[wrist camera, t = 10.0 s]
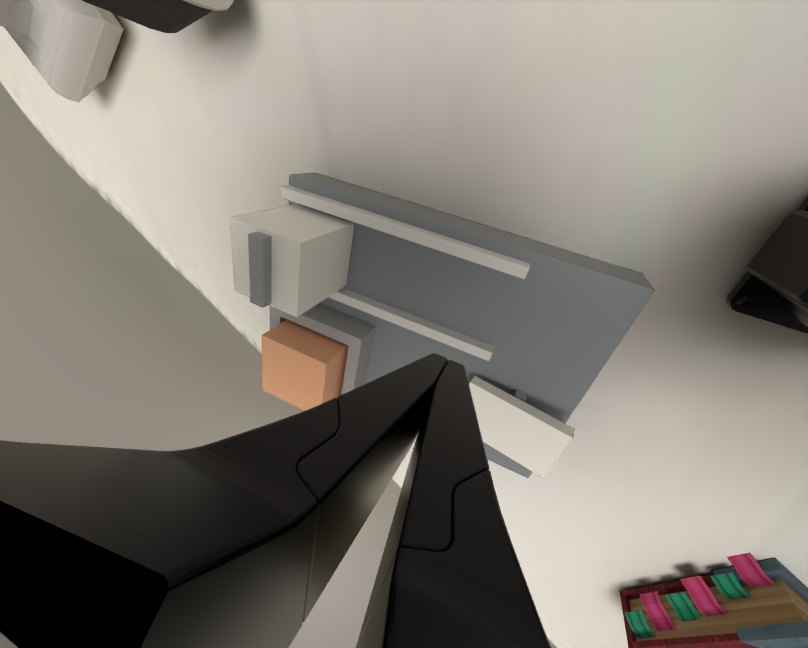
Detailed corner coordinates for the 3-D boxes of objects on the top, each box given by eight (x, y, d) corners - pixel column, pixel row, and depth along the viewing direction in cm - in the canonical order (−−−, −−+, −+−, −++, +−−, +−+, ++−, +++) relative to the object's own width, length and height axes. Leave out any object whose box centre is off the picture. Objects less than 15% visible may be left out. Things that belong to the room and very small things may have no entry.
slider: (354, 223, 19) (291, 246, 15) (346, 285, 21) (289, 322, 17) (296, 203, 20) (219, 219, 15) (293, 265, 22) (225, 295, 18)
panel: (642, 273, 17) (667, 307, 14) (530, 451, 25) (526, 503, 21) (314, 172, 22) (265, 176, 18) (303, 349, 29) (266, 378, 25)
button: (359, 333, 23) (326, 364, 19) (350, 383, 25) (320, 418, 22) (302, 309, 24) (261, 335, 20) (299, 359, 26) (262, 390, 23)
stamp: (113, 118, 26) (-49, 105, 19) (50, 35, 25) (-147, -11, 18) (153, 16, 21) (-43, -52, 14) (77, -93, 20) (-177, -225, 13)
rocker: (574, 428, 18) (572, 438, 18) (546, 468, 20) (543, 478, 19) (474, 375, 20) (470, 382, 20) (457, 416, 22) (452, 423, 22)
